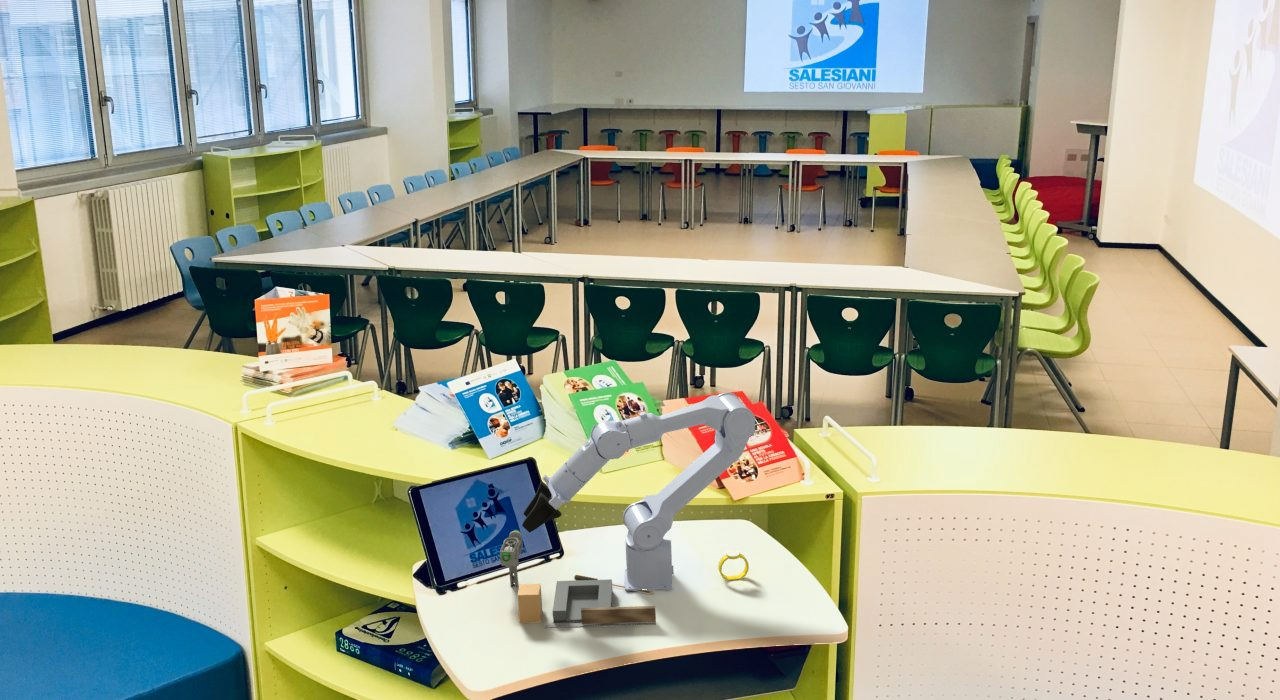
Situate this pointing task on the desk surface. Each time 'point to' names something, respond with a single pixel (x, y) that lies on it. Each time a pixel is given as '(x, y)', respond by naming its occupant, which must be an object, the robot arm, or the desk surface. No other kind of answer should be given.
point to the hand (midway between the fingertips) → (526, 522)
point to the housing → (582, 602)
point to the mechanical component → (512, 554)
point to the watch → (733, 555)
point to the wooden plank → (618, 615)
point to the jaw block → (530, 603)
